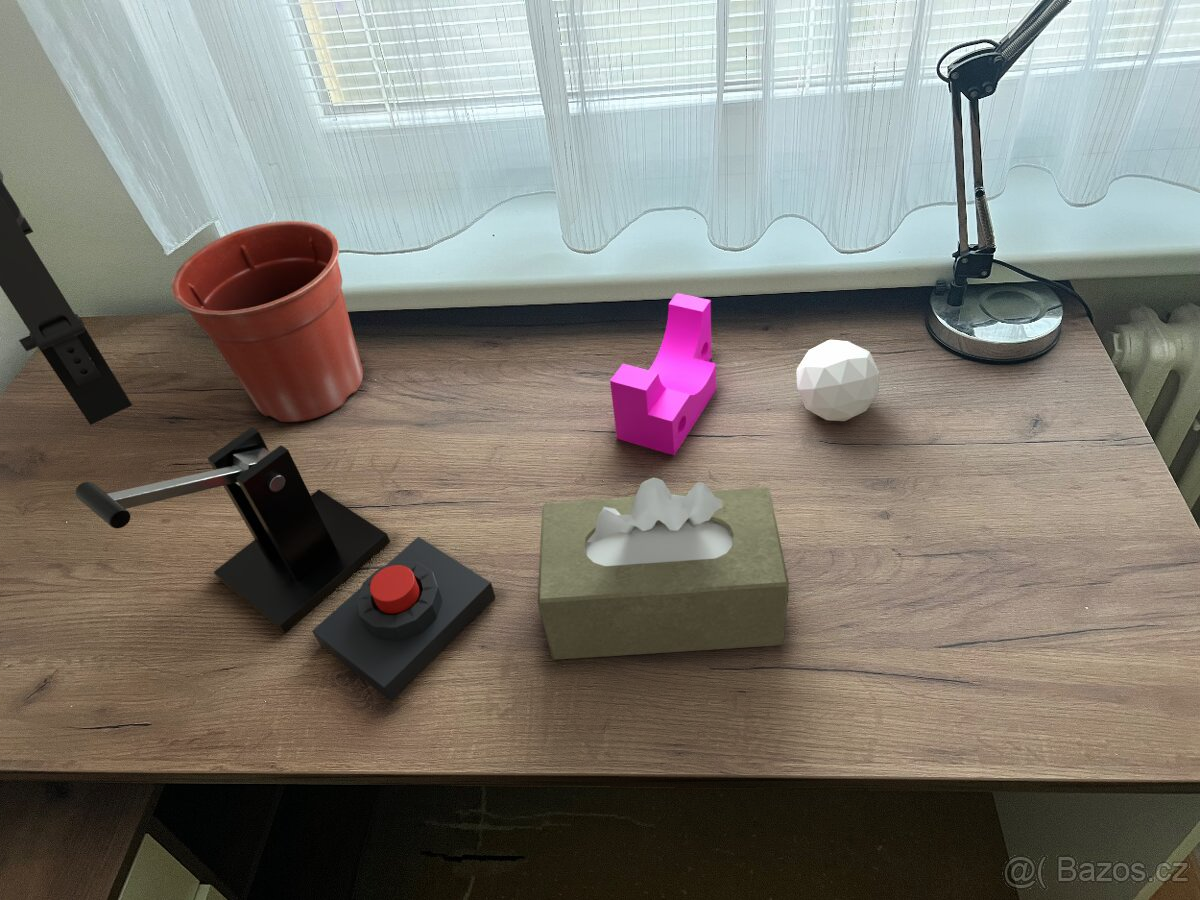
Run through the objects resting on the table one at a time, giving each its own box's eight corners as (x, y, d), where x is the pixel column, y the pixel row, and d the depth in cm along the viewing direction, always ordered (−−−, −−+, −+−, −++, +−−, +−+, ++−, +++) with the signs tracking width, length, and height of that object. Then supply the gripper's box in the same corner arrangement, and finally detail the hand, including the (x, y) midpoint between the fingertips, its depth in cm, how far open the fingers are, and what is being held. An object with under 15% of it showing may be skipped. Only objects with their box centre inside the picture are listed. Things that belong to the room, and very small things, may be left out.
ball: (814, 419, 90) (800, 343, 89) (894, 408, 86) (880, 327, 85) (793, 434, 83) (777, 352, 82) (878, 422, 79) (863, 335, 78)
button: (396, 621, 69) (390, 608, 68) (366, 600, 71) (360, 587, 70) (428, 590, 71) (423, 577, 70) (399, 571, 73) (393, 557, 72)
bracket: (285, 633, 74) (219, 528, 64) (218, 580, 79) (148, 474, 69) (390, 541, 80) (344, 433, 70) (322, 497, 85) (271, 390, 75)
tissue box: (548, 661, 69) (515, 533, 58) (552, 563, 76) (523, 433, 65) (787, 646, 68) (799, 512, 57) (769, 548, 75) (776, 412, 64)
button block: (391, 702, 68) (377, 675, 65) (320, 645, 73) (303, 618, 70) (496, 597, 74) (487, 569, 72) (424, 551, 79) (413, 522, 76)
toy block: (674, 455, 84) (670, 397, 79) (616, 438, 87) (609, 380, 82) (733, 363, 93) (733, 305, 88) (679, 350, 96) (676, 293, 90)
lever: (109, 537, 60) (109, 506, 59) (75, 507, 63) (74, 477, 62) (288, 490, 71) (290, 464, 70) (252, 466, 74) (254, 441, 73)
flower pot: (203, 414, 96) (134, 292, 85) (304, 329, 106) (255, 209, 95) (314, 455, 89) (256, 329, 78) (411, 360, 99) (371, 236, 88)
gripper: (5, 83, 40) (196, 427, 54) (-81, -15, 55) (87, 275, 69) (-182, 140, 37) (74, 487, 51) (-219, 20, 52) (-13, 315, 66)
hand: (82, 366), depth 60 cm, fingers open, 13 cm apart
